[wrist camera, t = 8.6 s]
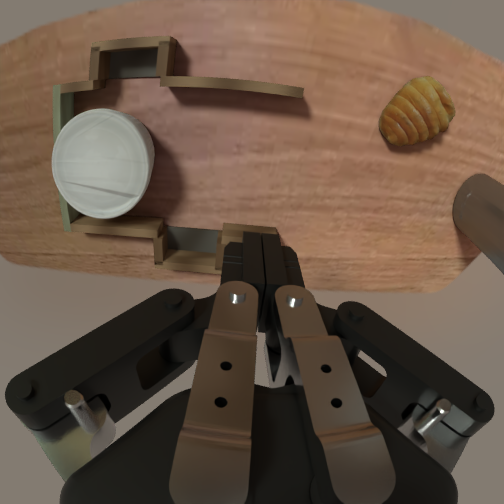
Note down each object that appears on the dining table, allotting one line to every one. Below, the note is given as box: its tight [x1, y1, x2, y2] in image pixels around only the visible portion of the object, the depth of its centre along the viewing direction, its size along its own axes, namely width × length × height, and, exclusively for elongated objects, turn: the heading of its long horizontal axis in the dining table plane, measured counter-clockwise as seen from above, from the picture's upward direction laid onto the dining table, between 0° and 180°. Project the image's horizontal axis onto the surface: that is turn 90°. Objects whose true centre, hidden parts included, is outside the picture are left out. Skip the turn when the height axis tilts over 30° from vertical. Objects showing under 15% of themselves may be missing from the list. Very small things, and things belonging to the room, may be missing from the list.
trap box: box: [53, 36, 304, 274], centre depth 29 cm, size 25×25×3 cm
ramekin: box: [52, 108, 155, 219], centre depth 28 cm, size 11×11×5 cm
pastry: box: [379, 76, 455, 146], centre depth 27 cm, size 9×7×4 cm
